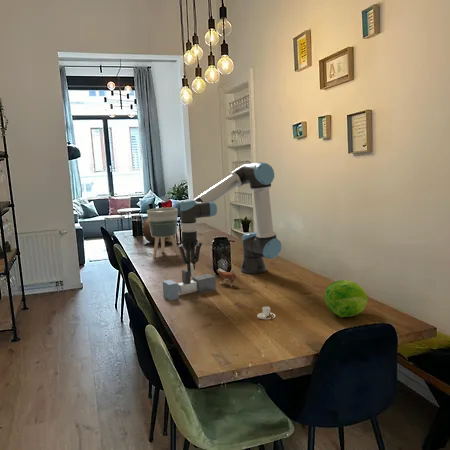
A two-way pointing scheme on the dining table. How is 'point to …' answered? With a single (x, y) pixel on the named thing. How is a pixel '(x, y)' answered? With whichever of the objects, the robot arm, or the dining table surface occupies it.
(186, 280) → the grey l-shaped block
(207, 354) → the dining table surface
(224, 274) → the bull figurine
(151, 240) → the pottery
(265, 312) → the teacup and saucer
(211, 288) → the grey rectangular block
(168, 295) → the blue-grey block
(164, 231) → the planter
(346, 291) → the lettuce
